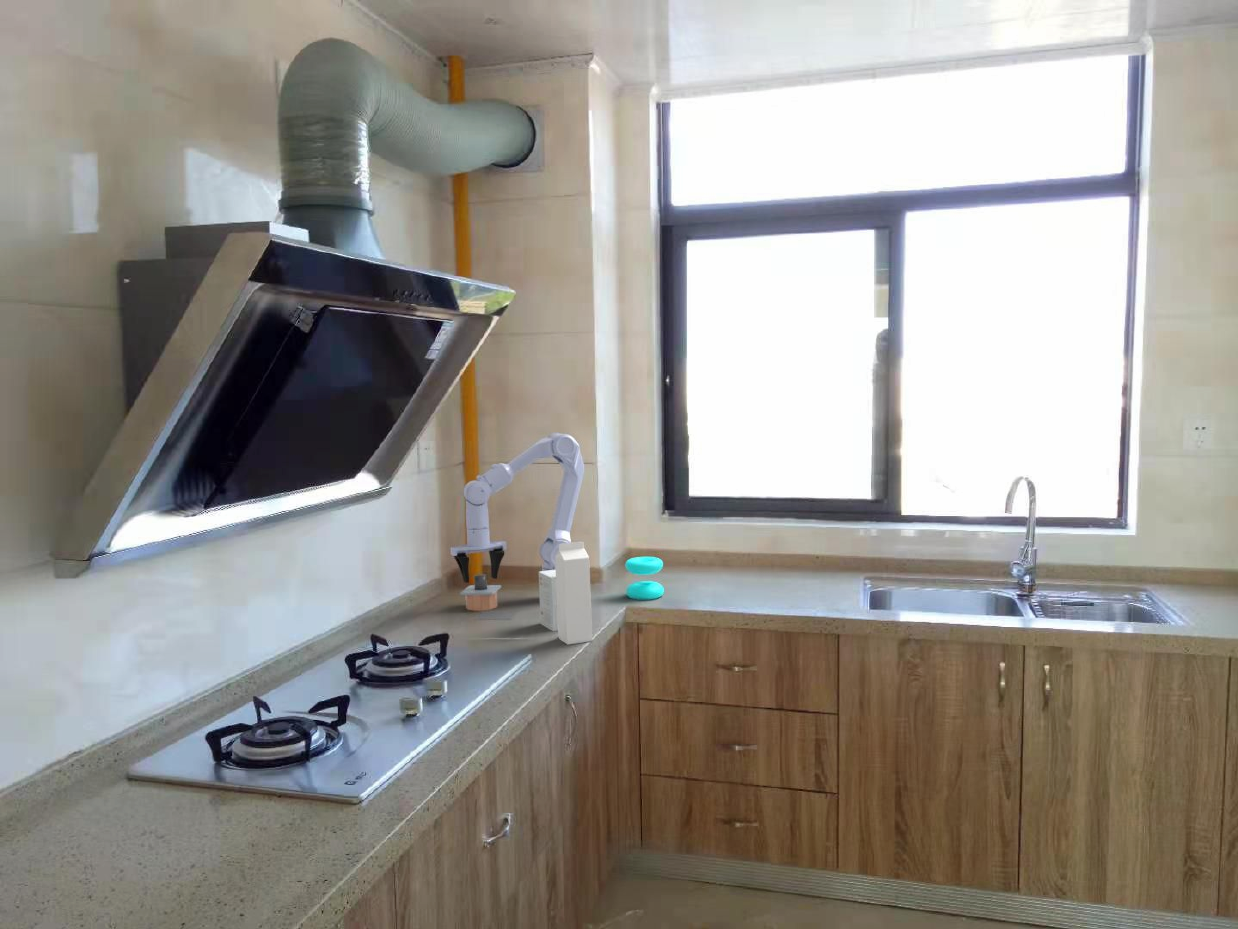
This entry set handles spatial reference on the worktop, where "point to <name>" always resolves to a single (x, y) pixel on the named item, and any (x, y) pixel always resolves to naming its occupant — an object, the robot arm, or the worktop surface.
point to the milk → (573, 593)
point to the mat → (497, 615)
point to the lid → (480, 587)
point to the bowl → (481, 602)
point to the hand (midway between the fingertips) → (480, 580)
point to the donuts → (644, 588)
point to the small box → (548, 599)
